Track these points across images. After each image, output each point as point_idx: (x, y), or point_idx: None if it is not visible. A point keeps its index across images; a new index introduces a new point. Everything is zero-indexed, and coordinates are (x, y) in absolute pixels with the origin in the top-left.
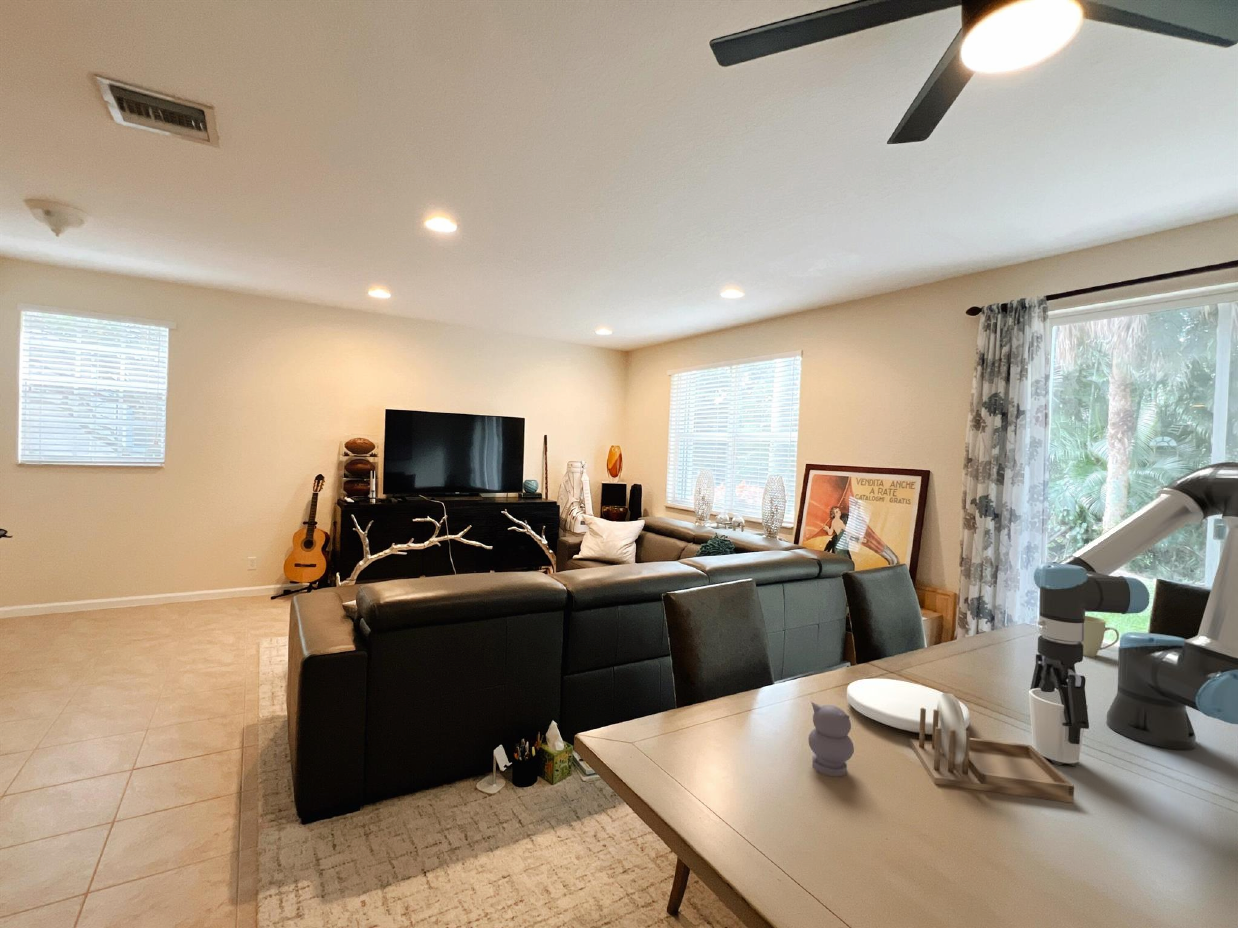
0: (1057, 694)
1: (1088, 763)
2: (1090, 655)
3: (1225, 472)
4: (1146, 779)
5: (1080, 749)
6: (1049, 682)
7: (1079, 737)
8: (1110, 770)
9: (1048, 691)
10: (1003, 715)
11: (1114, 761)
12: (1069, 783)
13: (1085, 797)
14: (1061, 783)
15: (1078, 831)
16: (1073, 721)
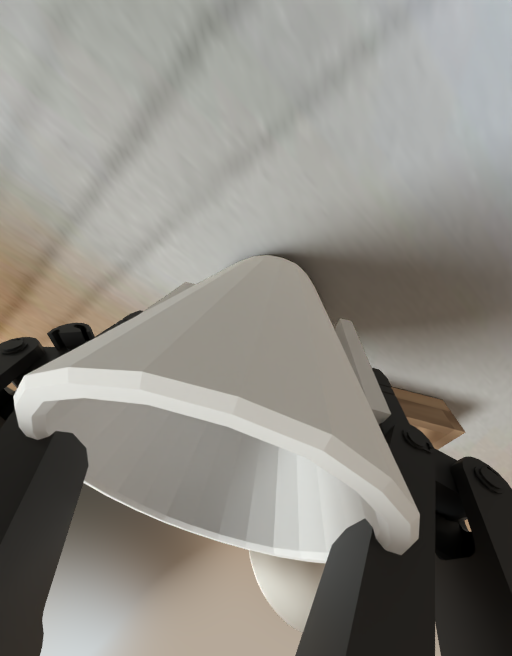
0: (72, 405)
1: (294, 223)
2: None
3: None
4: (449, 16)
5: (312, 286)
6: (26, 599)
7: (395, 396)
8: (343, 172)
9: (74, 444)
10: (55, 264)
11: (277, 67)
12: (451, 431)
13: (438, 368)
14: (443, 441)
15: (508, 446)
16: (440, 519)
